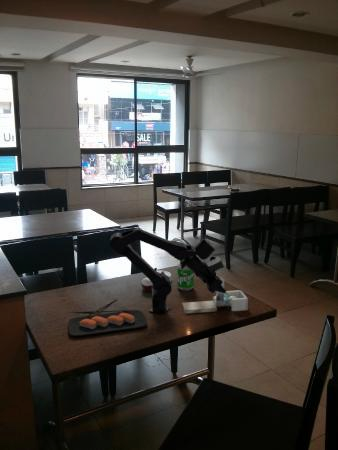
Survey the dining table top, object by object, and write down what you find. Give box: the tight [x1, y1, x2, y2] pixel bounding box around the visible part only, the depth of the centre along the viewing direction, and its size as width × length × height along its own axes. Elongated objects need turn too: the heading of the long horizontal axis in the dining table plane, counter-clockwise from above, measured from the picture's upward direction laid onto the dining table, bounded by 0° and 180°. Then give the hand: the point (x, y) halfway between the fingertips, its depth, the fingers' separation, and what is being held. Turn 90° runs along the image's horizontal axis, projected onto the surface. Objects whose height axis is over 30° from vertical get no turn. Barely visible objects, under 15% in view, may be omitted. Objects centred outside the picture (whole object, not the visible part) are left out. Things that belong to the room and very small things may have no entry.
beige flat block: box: [181, 300, 218, 314], centre depth 168 cm, size 13×7×2 cm, turn 98°
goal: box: [225, 289, 249, 312], centre depth 170 cm, size 6×9×5 cm
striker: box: [212, 277, 231, 307], centre depth 168 cm, size 6×6×11 cm
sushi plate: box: [67, 299, 148, 337], centre depth 162 cm, size 29×30×4 cm
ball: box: [229, 296, 237, 308], centre depth 170 cm, size 4×4×4 cm
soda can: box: [177, 263, 195, 292], centre depth 188 cm, size 8×8×12 cm
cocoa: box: [140, 267, 158, 293], centre depth 185 cm, size 10×6×12 cm, turn 27°
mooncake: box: [156, 269, 172, 282], centre depth 200 cm, size 12×12×4 cm
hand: (223, 290), depth 168 cm, fingers closed on striker, 3 cm apart
